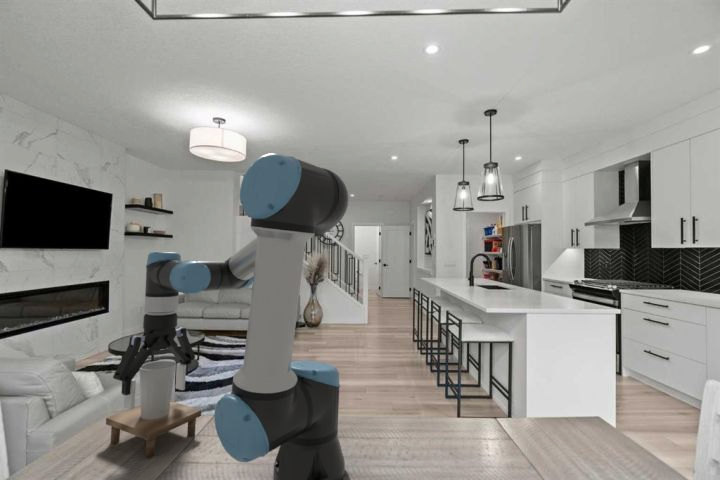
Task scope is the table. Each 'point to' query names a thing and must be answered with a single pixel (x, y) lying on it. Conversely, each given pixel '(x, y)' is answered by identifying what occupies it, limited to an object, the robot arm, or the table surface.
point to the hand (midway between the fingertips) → (156, 397)
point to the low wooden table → (152, 424)
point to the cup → (156, 388)
